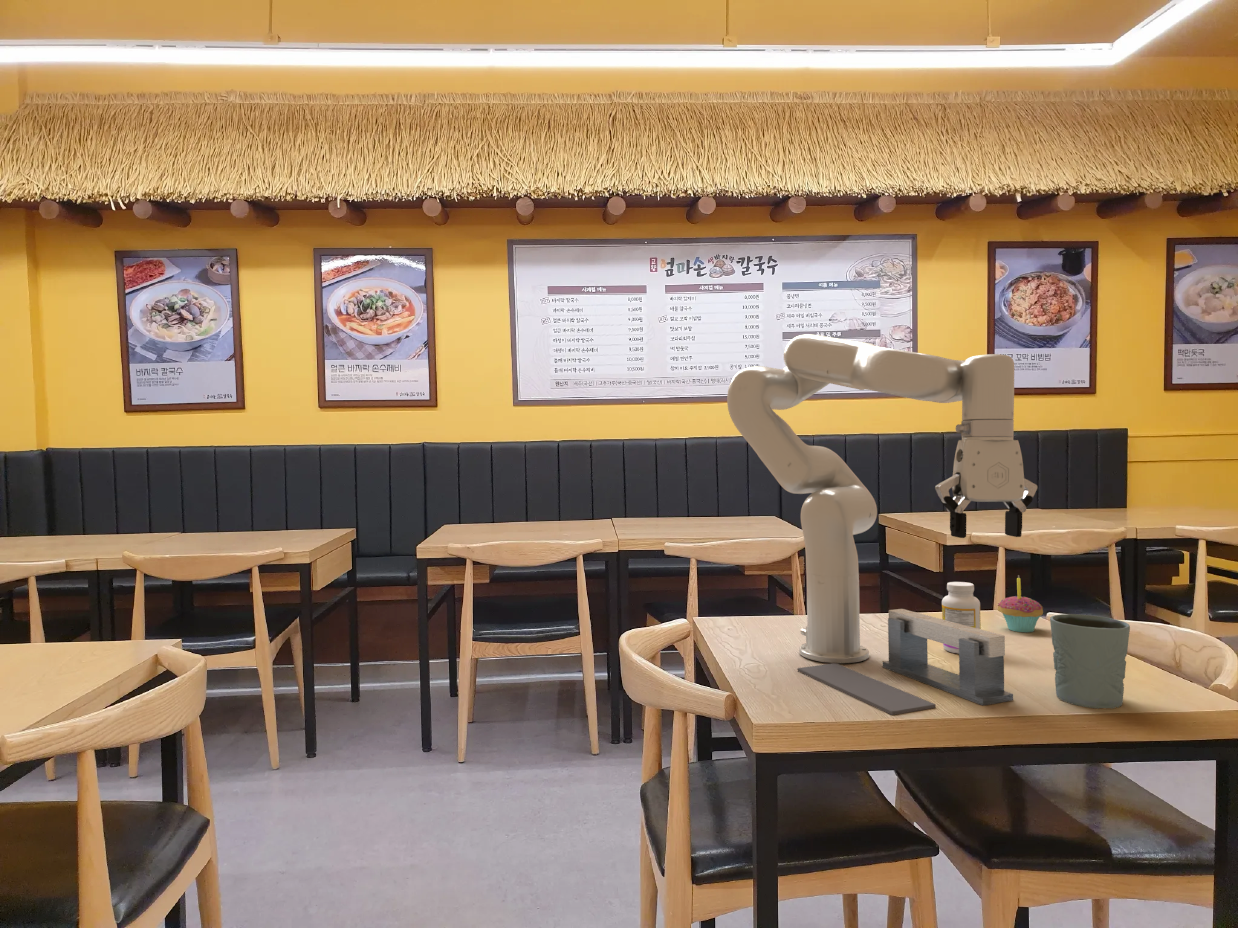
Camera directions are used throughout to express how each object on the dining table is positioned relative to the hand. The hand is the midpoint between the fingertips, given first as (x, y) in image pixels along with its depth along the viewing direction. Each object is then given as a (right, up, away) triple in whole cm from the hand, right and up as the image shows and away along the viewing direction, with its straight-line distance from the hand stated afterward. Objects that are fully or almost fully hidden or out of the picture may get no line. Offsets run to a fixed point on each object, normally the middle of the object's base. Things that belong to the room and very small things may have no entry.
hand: (985, 536), depth 119 cm
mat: (-21, -25, -1) cm, 32 cm away
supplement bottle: (+6, -24, +20) cm, 32 cm away
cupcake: (+26, -24, +36) cm, 50 cm away
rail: (-7, -17, +1) cm, 18 cm away
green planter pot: (+12, -24, -8) cm, 28 cm away
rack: (-6, -24, +1) cm, 25 cm away
